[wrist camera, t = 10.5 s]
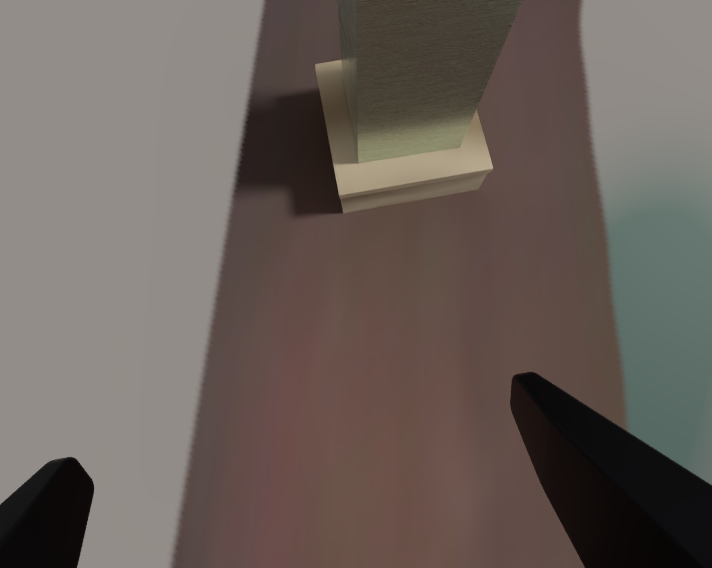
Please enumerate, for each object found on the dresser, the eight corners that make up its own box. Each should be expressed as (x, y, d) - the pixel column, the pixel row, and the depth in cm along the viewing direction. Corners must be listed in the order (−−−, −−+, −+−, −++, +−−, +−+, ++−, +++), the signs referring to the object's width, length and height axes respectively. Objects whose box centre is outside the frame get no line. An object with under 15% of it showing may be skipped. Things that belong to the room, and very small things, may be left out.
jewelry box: (478, 194, 25) (493, 168, 22) (342, 218, 25) (339, 195, 22) (446, 76, 27) (455, 38, 24) (319, 97, 27) (314, 62, 24)
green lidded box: (462, 149, 22) (573, -106, 11) (356, 165, 22) (351, -75, 11) (440, 58, 24) (518, -258, 12) (340, 73, 23) (319, -232, 12)
